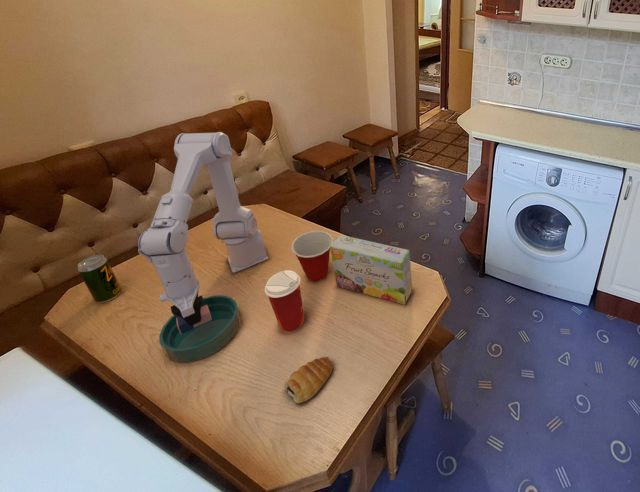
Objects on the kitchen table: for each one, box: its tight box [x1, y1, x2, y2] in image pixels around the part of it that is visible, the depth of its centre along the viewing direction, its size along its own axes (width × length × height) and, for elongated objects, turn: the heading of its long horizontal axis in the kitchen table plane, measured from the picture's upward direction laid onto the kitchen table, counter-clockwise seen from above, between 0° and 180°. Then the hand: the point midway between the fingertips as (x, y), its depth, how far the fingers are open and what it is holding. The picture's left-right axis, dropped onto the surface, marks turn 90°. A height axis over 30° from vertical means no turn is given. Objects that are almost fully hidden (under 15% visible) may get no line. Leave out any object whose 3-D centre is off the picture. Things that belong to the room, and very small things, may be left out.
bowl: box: [158, 294, 242, 364], centre depth 85 cm, size 15×15×4 cm
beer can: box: [77, 254, 122, 304], centre depth 94 cm, size 5×5×12 cm
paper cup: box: [264, 269, 305, 333], centre depth 87 cm, size 8×8×14 cm
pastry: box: [284, 356, 334, 404], centre depth 76 cm, size 9×7×4 cm
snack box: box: [330, 234, 413, 305], centre depth 97 cm, size 21×6×15 cm, turn 74°
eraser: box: [176, 305, 212, 334], centre depth 83 cm, size 6×3×3 cm, turn 131°
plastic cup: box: [290, 230, 334, 283], centre depth 102 cm, size 11×11×12 cm
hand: (194, 317), depth 83 cm, fingers closed on eraser, 3 cm apart
